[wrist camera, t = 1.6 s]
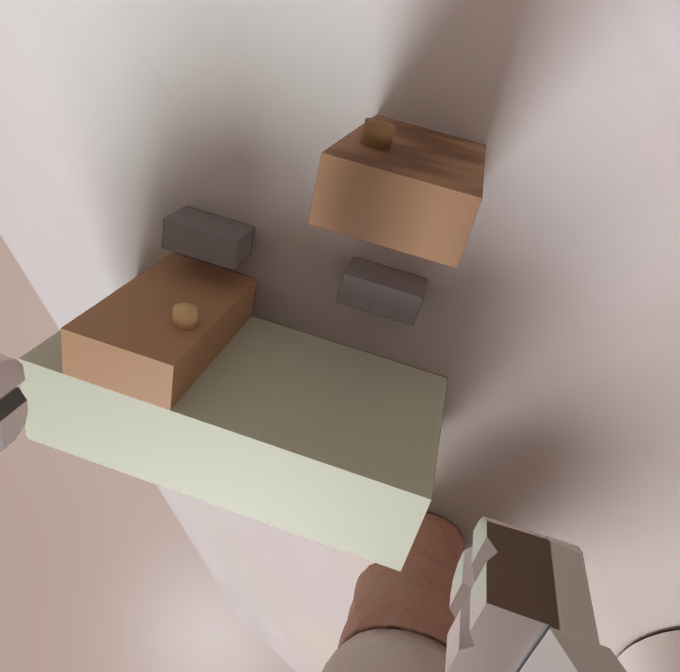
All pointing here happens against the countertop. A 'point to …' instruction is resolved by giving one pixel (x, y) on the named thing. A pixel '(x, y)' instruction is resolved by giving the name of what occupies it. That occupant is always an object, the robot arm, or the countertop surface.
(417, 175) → the wooden block with peg
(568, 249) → the countertop surface
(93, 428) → the cabinet
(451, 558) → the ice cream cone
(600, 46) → the countertop surface
